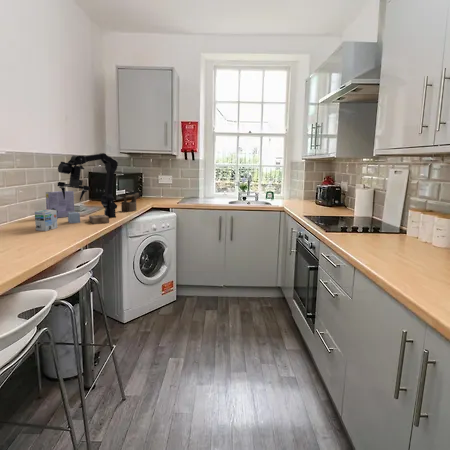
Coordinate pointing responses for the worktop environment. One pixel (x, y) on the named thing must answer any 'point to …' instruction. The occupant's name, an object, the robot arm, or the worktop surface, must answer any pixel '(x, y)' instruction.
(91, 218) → the walnut block
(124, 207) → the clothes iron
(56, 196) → the cake pan box
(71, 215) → the slate-blue cube
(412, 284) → the worktop surface
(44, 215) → the light bulb box
